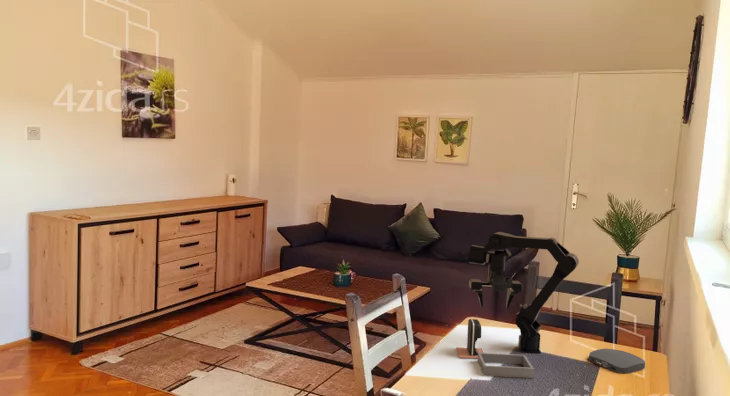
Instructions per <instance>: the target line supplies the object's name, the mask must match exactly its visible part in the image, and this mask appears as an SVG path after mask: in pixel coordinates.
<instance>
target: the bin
mask: <svg viewBox="0 0 730 396" xmlns="http://www.w3.org/2000/svg"><path fill="white" fill-rule="evenodd" d="M476 360H477V361H476V362H477V364H478V366H479V368H480V370H481V373H482V375H483V376H486V377H506V378H524V379H525V378H528V379H534V376H535V368H534V366H533V365H532V364H531V362H530V360H529V358H528V357H527V356H526V355H525V354H518V353H517V354H514V353H513V354H512V353H491V352H484V353H478V359H476ZM487 363H488V364H507V365H509V364H510V365H522V366H523V367H522V366H505V365H502V366H501V365H487Z"/></svg>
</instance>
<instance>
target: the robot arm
mask: <svg viewBox="0 0 730 396" xmlns="http://www.w3.org/2000/svg"><path fill="white" fill-rule="evenodd" d="M510 248H522V249H535V250H536V249H537V250H547V251H548V252H549V253H550V255H551V256H552V257H553V259H554V260H555V262H557V264H556V266H555V268H554V271H553V273H552V275H551V276H550V277H549V279H548V280H547V282H545V284H544V286H543V287H542V288H541V290H540V291H539V293H538V294H537V295H536V296H535V297H534V299H533V301H531V303H530V304H529V305H528V304H527V303H524V304H523V305H522V306H521V308H520V310H519V311H518V312H517V313H516V314H515V317H516V318H515V324H516V327H517V328H518V329H519V331H520V334H519V335H518V345H517V346H518V347H519V349H520V351H521V352H522V353H531V354H541V353H542V351H541V350H540V349H541V347H540V346H541V333H540V330H541V328H542V325H541V323H540V322H539V321H538V320H537V318H538V317H539V314H540V311H541V309H542V308H543V306H544V305H545V303H546V302H547V301H548V300H549V298H550V297H551V296H552V295H553V293H554V292H555V290H556V289H557V288H558V287H559V285H560V283H562V281H564V280H565V279H566V278H568V276H569V275H570V274H571V273H573V272H574V271H575V269H577V267H578V266H579V262H580V261H579V260H580V259H579V257H578V256H577V255H576V254H574V253H572V252H569V250H568V249H567V248H566V247H564V246H563V245H562V244H560V242H559V241H558V240H557V239H556V238H554V237H535V236H520V235H519V236H518V235H517V236H516V235H513V234H512V233H507V232H503V231H498V232H495V233H493V234H491V235H490V236H489V238H488V242H487V243H486V244H485V245H484V246H481V245H480V246H479V245H475V244H472V245H470V249H469V252H468V255H467V261H468V264H474V265H481V266H482V265H483V266H484V265H486V264H487V263H488V273H487V274H488V275H487V282H486V281H482V280H481V279H479V278H470V279H469V281H468V287H469V288H470V290H472V291H473V292H474V293H476V295H477V297H478V300H479V301H478V302H479V304H480V308H481V309H482V308H483V306H484V300H483V292H484V291H483V290H482V289H483V288H490V289H491V288H492V291H494V292H503V293H504V292H506V300H505V301H506V303H505V308H506V310H508V309H509V306H510V305H511V303H512V300H513V298H514V297H515V296H516V295H519V294H520V293H522V292H523V291H524V285H523V284H522V283H521V282H520V281H519V280H513V278H512V277H506V273H505V272H506V271H505V267H506V266H505V265H506V257H510V256H512V253H511V251H509V250H508V249H510ZM491 250H494V251H491Z"/></svg>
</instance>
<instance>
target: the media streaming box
mask: <svg viewBox="0 0 730 396" xmlns="http://www.w3.org/2000/svg"><path fill="white" fill-rule="evenodd" d="M588 360H589V362H591V363H593V364H595V365H596V366H599V367H602V368H604V369H607V370H609V371H612V372H614V373H619V374H630V373H635V372H638V371H643V370H644V369H645V368H646V361H645V359H643V358H641V357H640V356H637V355H636V354H633V353H630V352H627V351H624V350H619V349H614V348H613V349H612V348H599V349H595V350H592V351H590V352H589V356H588Z"/></svg>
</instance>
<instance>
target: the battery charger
mask: <svg viewBox="0 0 730 396" xmlns="http://www.w3.org/2000/svg"><path fill="white" fill-rule="evenodd" d="M481 338H482V324H481V322H480V321H479V320H478V319H476V318H469V319H468V323H467V338H466V339H467V340H466V341H467V342H466V348H467V350H468V352H469V354H470V355H472V356H473V355H478V351H477V349H476V343H477V341H478V339H479V340H480V339H481Z"/></svg>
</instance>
